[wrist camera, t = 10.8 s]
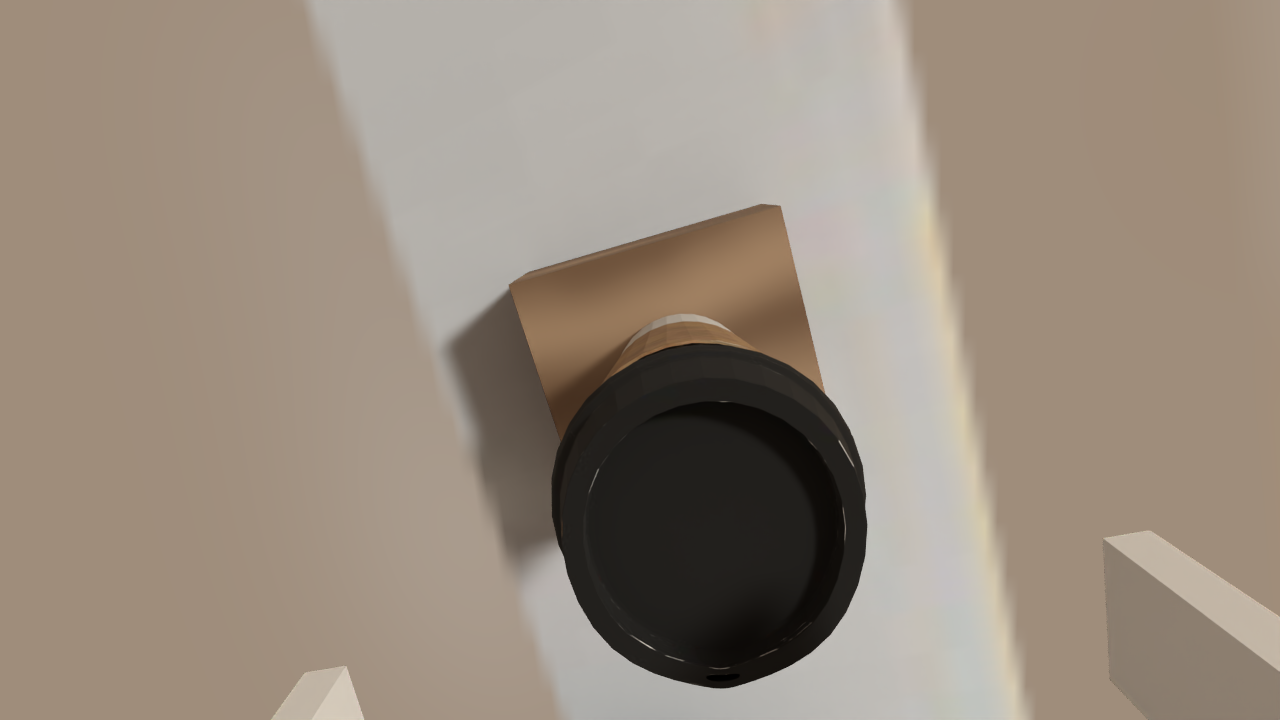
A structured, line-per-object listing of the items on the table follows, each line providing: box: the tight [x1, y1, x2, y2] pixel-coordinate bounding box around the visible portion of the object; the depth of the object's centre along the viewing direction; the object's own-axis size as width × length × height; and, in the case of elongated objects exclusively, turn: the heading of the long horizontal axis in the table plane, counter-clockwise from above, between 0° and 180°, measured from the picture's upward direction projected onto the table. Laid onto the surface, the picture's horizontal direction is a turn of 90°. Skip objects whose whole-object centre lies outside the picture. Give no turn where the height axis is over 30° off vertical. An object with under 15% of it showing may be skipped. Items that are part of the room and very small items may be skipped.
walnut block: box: [509, 204, 825, 441], centre depth 33 cm, size 12×12×5 cm
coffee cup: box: [552, 314, 867, 688], centre depth 24 cm, size 8×8×15 cm
